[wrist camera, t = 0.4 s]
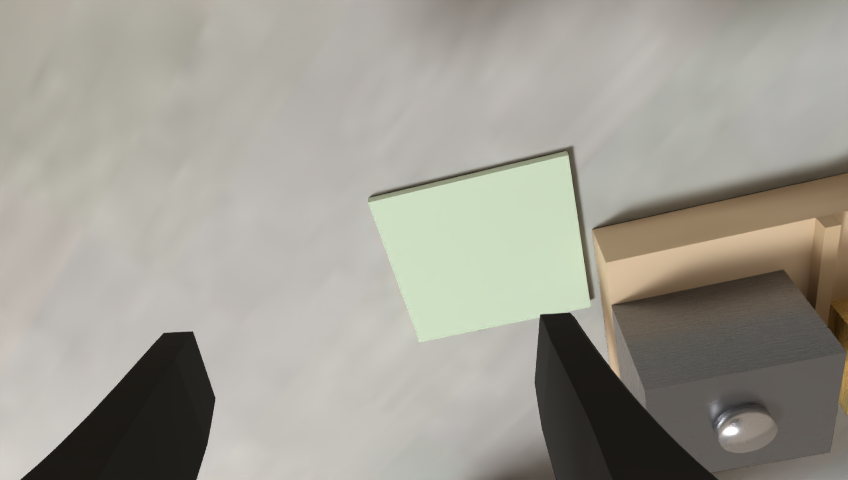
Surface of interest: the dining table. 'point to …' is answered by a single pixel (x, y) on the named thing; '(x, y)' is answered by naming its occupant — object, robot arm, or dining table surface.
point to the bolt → (841, 341)
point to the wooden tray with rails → (730, 247)
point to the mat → (486, 247)
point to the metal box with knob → (734, 369)
